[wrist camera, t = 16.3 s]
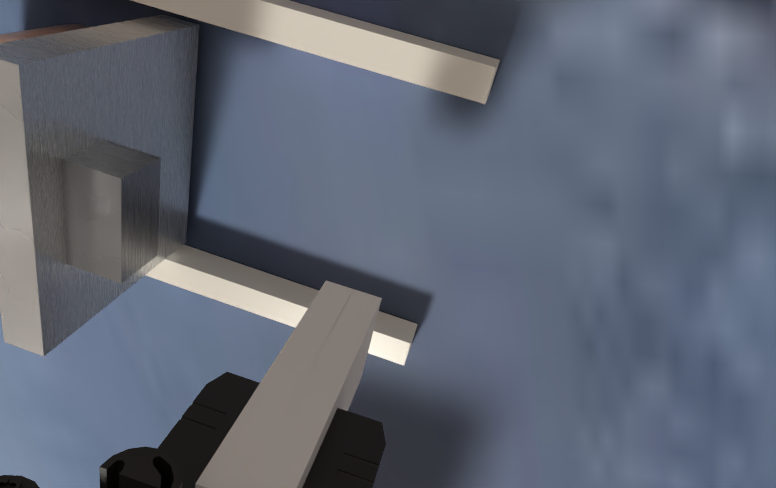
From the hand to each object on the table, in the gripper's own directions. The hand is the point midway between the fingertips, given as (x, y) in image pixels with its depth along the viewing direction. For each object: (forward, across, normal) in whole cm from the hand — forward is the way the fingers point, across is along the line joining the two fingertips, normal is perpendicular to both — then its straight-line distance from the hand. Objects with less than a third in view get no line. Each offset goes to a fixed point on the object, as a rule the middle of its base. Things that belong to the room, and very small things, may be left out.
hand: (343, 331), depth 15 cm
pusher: (+5, +7, -2) cm, 9 cm away
